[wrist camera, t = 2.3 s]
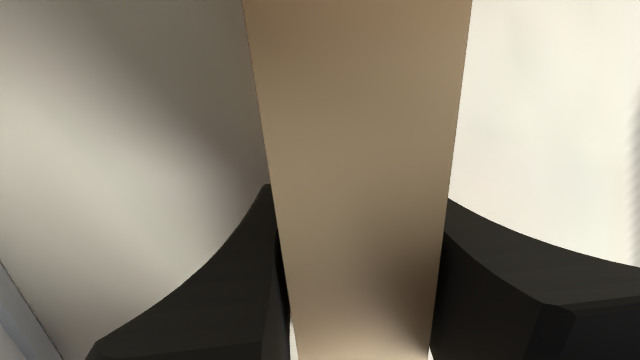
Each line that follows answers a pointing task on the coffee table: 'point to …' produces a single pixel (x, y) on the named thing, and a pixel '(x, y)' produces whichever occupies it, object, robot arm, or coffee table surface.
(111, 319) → the coffee table surface
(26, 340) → the end cap cradle
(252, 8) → the oak slat
